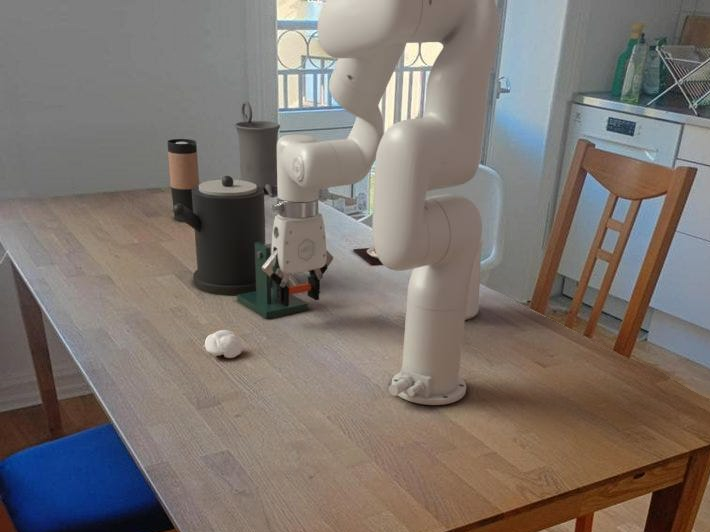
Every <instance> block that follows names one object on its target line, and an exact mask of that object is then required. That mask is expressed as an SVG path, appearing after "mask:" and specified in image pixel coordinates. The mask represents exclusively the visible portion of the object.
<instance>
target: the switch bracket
mask: <svg viewBox="0 0 710 532" xmlns="http://www.w3.org/2000/svg"><path fill="white" fill-rule="evenodd" d="M269 257H270V248H269V247H267V246H265V245H263V244H261V243H259V242H257V243H255V268H256V291H253V292H248V293H243V294H238V295H236V301H237V303H240V304H241V305H243V306H244V307H246V308H248V309H250V310H251V311H253V312H254V313H256V314H258V315H260V316H261V317H263V318H264V319H266V320H269V319H272V318H277V317H282V316H286V315H291V314H295V313H300V312H305V311H308V310H309V303H308V302H306V301H304V300H303V299H301V298H300V297H297V296H296V295H295V294H291V295H289V306H287V307H285V306H283V305H281V304H279V303H278V301H277V296H276V283H274V281H272V280H271V279H270V278H269V277H268V275H266V274H265V273H264V272H263V271H262V269H261V268H262V266H263V265H264V263H265V262H266V261H267V260H268V258H269ZM273 271H274V272H275V273H276V271H277V268H275V267H273ZM286 286H288V287H289V282H288V281H287V283H286Z"/></svg>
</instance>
